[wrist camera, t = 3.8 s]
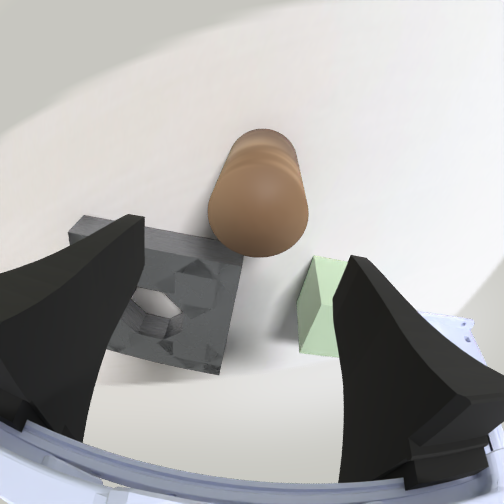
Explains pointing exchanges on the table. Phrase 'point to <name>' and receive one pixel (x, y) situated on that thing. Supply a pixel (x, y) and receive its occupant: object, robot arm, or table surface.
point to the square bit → (319, 307)
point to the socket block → (178, 299)
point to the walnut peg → (259, 196)
